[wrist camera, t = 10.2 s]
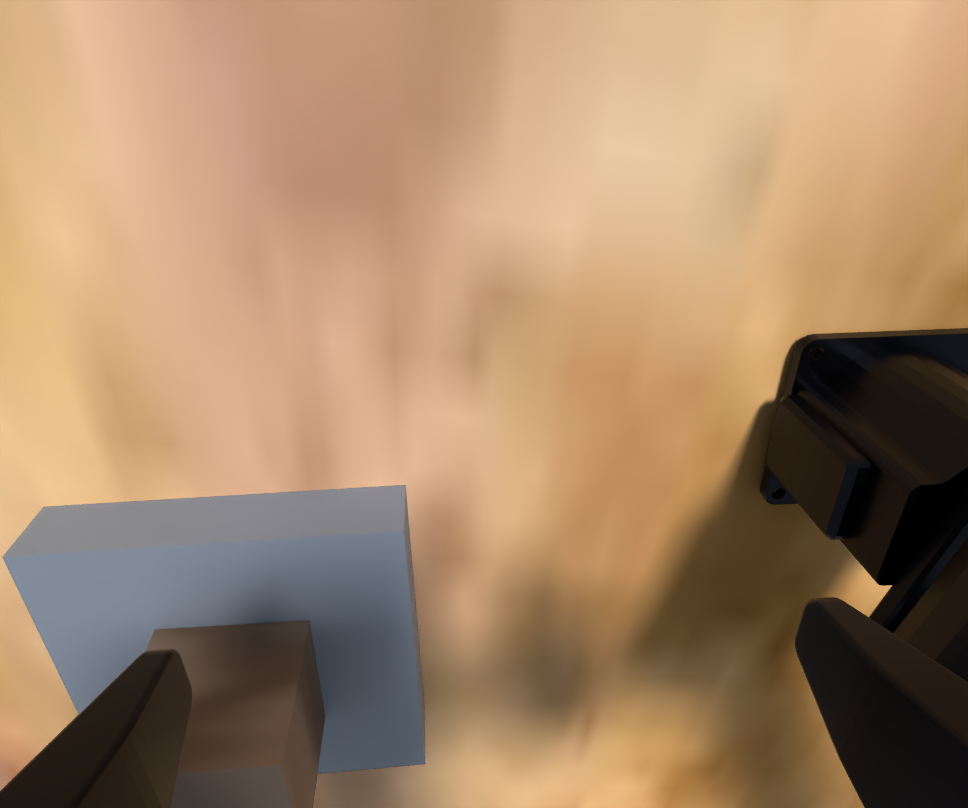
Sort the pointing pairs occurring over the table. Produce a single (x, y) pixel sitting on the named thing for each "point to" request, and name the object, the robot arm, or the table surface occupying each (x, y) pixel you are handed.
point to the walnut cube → (248, 715)
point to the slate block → (242, 597)
